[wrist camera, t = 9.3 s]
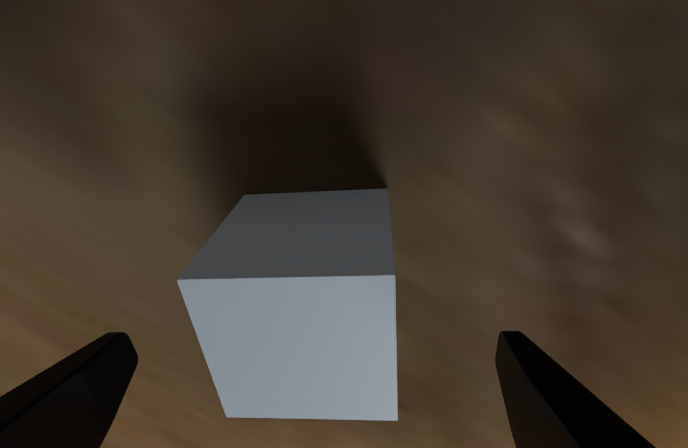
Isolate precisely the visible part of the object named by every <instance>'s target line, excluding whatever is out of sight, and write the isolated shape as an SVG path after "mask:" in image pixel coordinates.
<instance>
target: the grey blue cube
mask: <svg viewBox="0 0 688 448" xmlns="http://www.w3.org/2000/svg"><path fill="white" fill-rule="evenodd" d="M177 282H178V285H179V287H180V290H181V293H182V296H183V299H184V301H185V304H186V307H187V310H188V312H189V315H190V318H191V321H192V323H193V326H194V329H195V332H196V334H197V337H198V340H199V343H200V345H201V348H202V351H203V354H204V356H205V359H206V362H207V365H208V367H209V370H210V373H211V376H212V378H213V381H214V384H215V387H216V389H217V392H218V395H219V398H220V400H221V403H222V406H223V409H224V411H225V414H226V417H244V418H293V419H342V420H392V421H398V410H397V352H396V294H395V267H394V255H393V243H392V231H391V220H390V208H389V196H388V188H387V189H364V190H342V191H320V192H297V193H275V194H253V195H244V196H243V197H242V198H241V200H240V201H239V202H238V203H237V205H236V206H235V207H234V208H233V210H232V211H231V212H230V213H229V215H228V216H227V217H226V218H225V220H224V221H223V222H222V223H221V225H220V226H219V227H218V228H217V230H216V231H215V232H214V233H213V235H212V236H211V237H210V238H209V240H208V241H207V242H206V244H205V245H204V246H203V247H202V249H201V250H200V251H199V252H198V254H197V255H196V256H195V257H194V259H193V260H192V261H191V262H190V264H189V265H188V266H187V267H186V269H185V270H184V271H183V272H182V274H181V275H180V276H179V277H178V279H177Z"/></svg>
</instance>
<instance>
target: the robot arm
mask: <svg viewBox="0 0 688 448" xmlns="http://www.w3.org/2000/svg"><path fill="white" fill-rule="evenodd" d="M495 361H496V368H497V373H498V377H499V381H500V385H501V390H502V394H503V398H504V402H505V407H506V411H507V415H508V419H509V424H510V428H511V432H512V435H513V439H514V442H515V445H516V448H655V447H654V446H653V445H652V444H651V443H650V442H648V441H647V440H646V439H645V438H644V437H643V436H641V435H640V434H639V433H638V432H637V431H636V430H635V429H633V428H632V427H631V426H630V425H629V424H628V423H626V422H625V421H624V420H623V419H622V418H621V417H619V416H618V415H617V414H616V413H615V412H614V411H612V410H611V409H610V408H609V407H608V406H607V405H605V404H604V403H603V402H602V401H601V400H600V399H598V398H597V397H596V396H595V395H594V394H593V393H592V392H590V391H589V390H588V389H587V388H586V387H585V386H583V385H582V384H581V383H580V382H579V381H578V380H576V379H575V378H574V377H573V376H572V375H571V374H569V373H568V372H567V371H566V370H565V369H564V368H562V367H561V366H560V365H559V364H558V363H557V362H555V361H554V360H553V359H552V358H551V357H550V356H549V355H547V354H546V353H545V352H544V351H543V350H542V349H540V348H539V347H538V346H537V345H536V344H535V343H533V342H532V341H531V340H530V339H529V338H528V337H526V336H525V335H524V334H523V333H521V332H520V331H502V332H500V334H499V338H498V344H497V350H496V357H495ZM137 363H138V355H137V352H136V350H135V348H134V346H133V344H132V342H131V340H130V338H129V336H128V335H127V334H126V333H124V332H110V333H106V334H105V335H103V336H101V337H99V338H98V339H96V340H94V341H93V342H91V343H89V344H88V345H86V346H84V347H83V348H81V349H79V350H78V351H76V352H74V353H73V354H71V355H69V356H68V357H66V358H64V359H63V360H61V361H59V362H58V363H56V364H54V365H53V366H51V367H49V368H48V369H46V370H44V371H43V372H41V373H39V374H38V375H36V376H34V377H33V378H31V379H29V380H28V381H26V382H24V383H23V384H21V385H19V386H18V387H16V388H14V389H13V390H11V391H9V392H7V393H6V394H4V395H2V396H1V397H0V448H100V446H101V444H102V442H103V440H104V438H105V436H106V435H107V433H108V431H109V429H110V427H111V425H112V422H113V420H114V418H115V416H116V413H117V411H118V409H119V406H120V404H121V402H122V399H123V397H124V395H125V392H126V390H127V388H128V385H129V383H130V381H131V378H132V376H133V374H134V371H135V369H136V367H137Z"/></svg>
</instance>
